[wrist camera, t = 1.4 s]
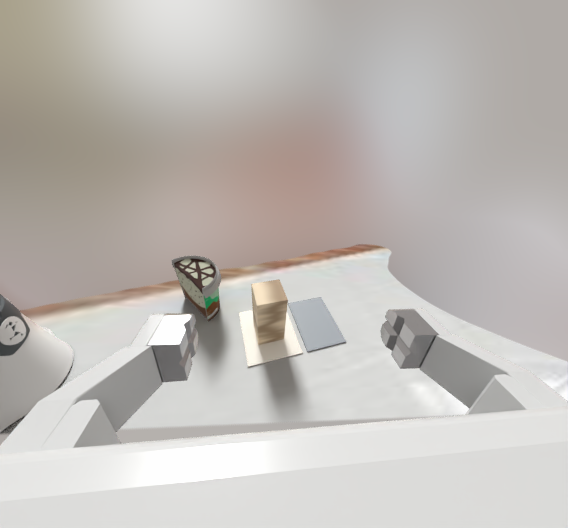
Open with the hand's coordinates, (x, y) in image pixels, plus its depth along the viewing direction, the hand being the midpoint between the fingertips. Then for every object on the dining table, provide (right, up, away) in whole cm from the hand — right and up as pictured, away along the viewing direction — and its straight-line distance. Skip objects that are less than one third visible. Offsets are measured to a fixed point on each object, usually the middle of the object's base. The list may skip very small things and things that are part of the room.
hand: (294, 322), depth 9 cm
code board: (+1, -10, +36) cm, 37 cm away
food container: (-17, -6, +40) cm, 44 cm away
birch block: (-4, -11, +34) cm, 36 cm away
